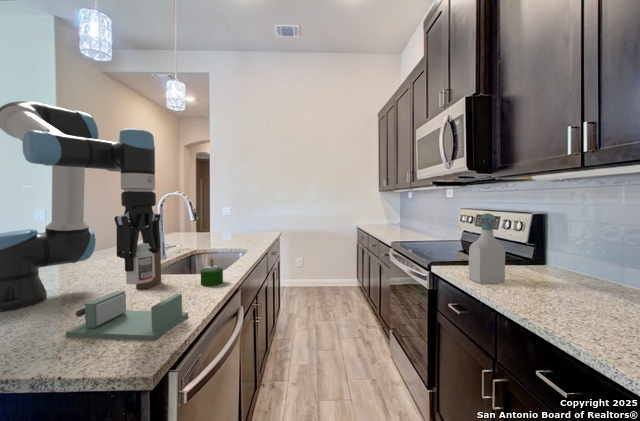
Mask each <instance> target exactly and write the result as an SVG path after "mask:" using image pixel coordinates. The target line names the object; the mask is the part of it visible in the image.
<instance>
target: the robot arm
mask: <svg viewBox="0 0 640 421" xmlns="http://www.w3.org/2000/svg"><path fill="white" fill-rule="evenodd" d="M0 130H2V131H3V132H4V133H5V134H7V135H8V136H10V137H12V138H15V139H19V141H21V142H22V153H23V156H24V159H25V160H26V161H27V162H28V163H29V164H36V165H43V166H49V167H51V168H52V169H51V170H52V171H51V222H50V223H48V224H47V225H45V228H44V229H45V231H44V232H38V230H37V228H31V229H30V228H28V229H19V230H12V231H6V232H1V233H0V312H6V311H13V310H17V309H18V310H19V309H21V308H26V307H29V306H33V305H36V304H39V303H41V302H44V301H45V300H47V299H48V294H47V293H48V292H47V290H46V288H45V285H44V284H43V281H42V280H41V278H40V275H39V272H40V271H39V269H40V268H44V267H52V266H58V265H60V266H61V265H66V264H74V263H78V262H83V261H84V262H85V261H87V260H88V259H90V257H92V255H93V254H94V252H95V248H96V242H97V241H96V234H95V232H94V230H93V229H90V228H89V225H88V224H87V223H86V222H85V221H84V217H85V215H84V214H85V213H84V212H85V179H86V178H85V176H86V175H85V173H86V172H85V169H96V170H106V171H109V172H116V173H118V172H119V173H120V189H121V190H123V191H122V192H121V194H120V196H121V197H120V198H121V206H122V207H125V208H124V212H123V214H122V215H120V216H119V215H117V216H114V223H115V226H116V257H118V258H120V259H124V272H125V279H126V280H125V281H126V285H136V284H138V283H139V274H138V258H135V255H136V249H137V243H139V242H138V241H139V236H140V234H141V238H142V243H149V249H148V251H150V252H152V254H153V277H155V253H158V252H159V249H160V250H161V247H162V244H161V228H160V227H161V226H160V224H161V223H160V222H161V215H162V214H160V213H154V210H153V207H154V206H156V204H157V197H156V196H157V194H156V192H154V191H155V190H156V176H155V175H156V162H155V161H156V157H155V156H156V152H155V151H156V150H155V149H156V146H155V138H154V135H153V133H151V132H150V131H148V130H144V129H138V128H124V129H121V130H120V131H119V137H118V142H117V141H115V142H114V141H110V140H109V141H107V140H103V139H102V140H101V139H99V128H98V125H97V123H96V121H95V119H94V117H92V115H90V114H88V113H87V112H82V111H80V110H79V111H78V110H76V109H70V108H65V107H59V106H54V105H50V104H45V103H41V102H37V101H29V100H21V101H12V102H7V103H5V104H3V105H1V106H0ZM155 244H156V245H155Z"/></svg>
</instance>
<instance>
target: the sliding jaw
mask: <svg viewBox="0 0 640 421" xmlns="http://www.w3.org/2000/svg"><path fill="white" fill-rule="evenodd" d="M126 310H127V293H126V291H125V290H116V291H113V292H111V293H109V294H106V295H103V296H100V297H98V298H95V299H94V300H91V301H88V302H85V303H84V307H83V308H81V309H78V310H76V311H75V315H76V317H77V318H78V317H79V318H80V317H82V316H84V315H85V316H84V318H85V320H84V323H86V328H95V327H97V326H99V325H101V324H103V323H105V322H107V321H109V320H111V319H113V318H115V317H117V316H119V315H121V314H123V313H125V312H126Z"/></svg>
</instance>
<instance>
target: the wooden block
mask: <svg viewBox="0 0 640 421" xmlns="http://www.w3.org/2000/svg"><path fill="white" fill-rule="evenodd" d="M155 245H156V244H155ZM161 250H162V249H161V248H160V249H159V252H158V253H155V277H153V280H152V281H149V282H146V283H140V284H135V289H137V290H148V289H150V288H153V287H155V286H157V285H159V284H160V283H162V264H161V263H162V259H161V257H162V254H161V252H162V251H161Z"/></svg>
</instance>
